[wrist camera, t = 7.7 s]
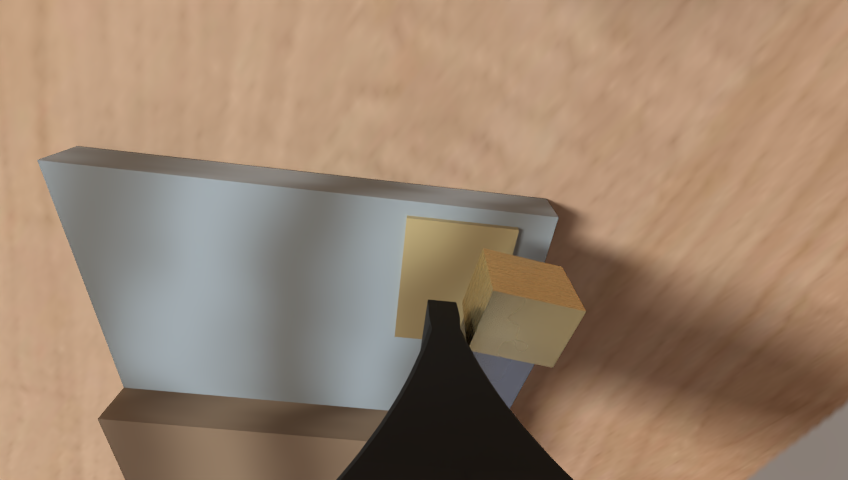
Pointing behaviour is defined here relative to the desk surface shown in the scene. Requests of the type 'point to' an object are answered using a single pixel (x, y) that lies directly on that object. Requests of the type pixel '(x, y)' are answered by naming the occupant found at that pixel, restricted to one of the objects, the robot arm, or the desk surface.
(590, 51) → the desk surface
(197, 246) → the door board
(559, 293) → the latch bar
